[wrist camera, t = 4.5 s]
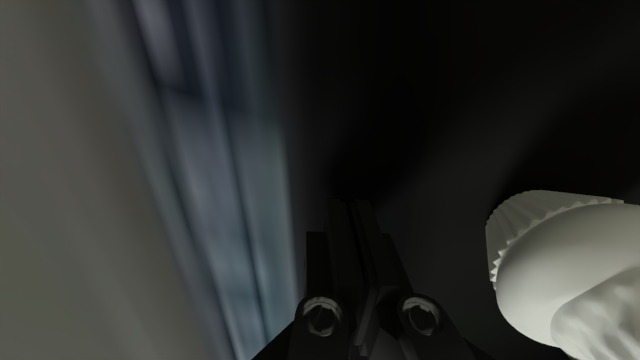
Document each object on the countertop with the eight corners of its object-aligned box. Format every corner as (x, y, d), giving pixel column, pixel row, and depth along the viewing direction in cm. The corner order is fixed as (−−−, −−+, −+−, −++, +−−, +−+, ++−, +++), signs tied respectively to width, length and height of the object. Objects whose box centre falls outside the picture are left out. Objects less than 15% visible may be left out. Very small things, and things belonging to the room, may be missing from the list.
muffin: (472, 280, 15) (592, 463, 9) (435, 203, 12) (575, 393, 6) (596, 231, 13) (843, 407, 7) (587, 130, 10) (983, 281, 4)
